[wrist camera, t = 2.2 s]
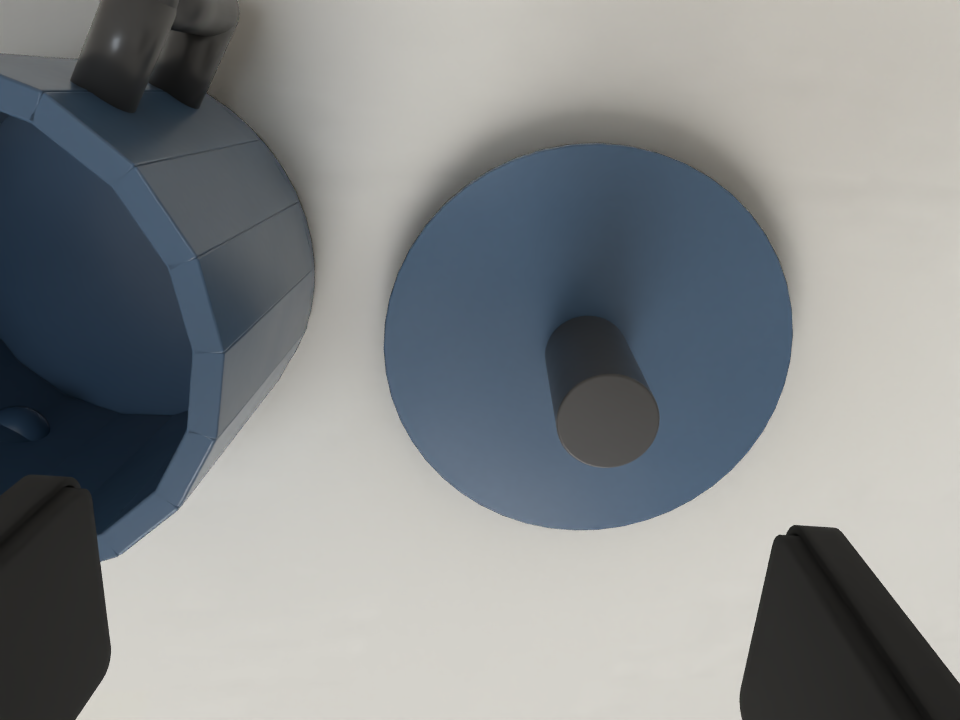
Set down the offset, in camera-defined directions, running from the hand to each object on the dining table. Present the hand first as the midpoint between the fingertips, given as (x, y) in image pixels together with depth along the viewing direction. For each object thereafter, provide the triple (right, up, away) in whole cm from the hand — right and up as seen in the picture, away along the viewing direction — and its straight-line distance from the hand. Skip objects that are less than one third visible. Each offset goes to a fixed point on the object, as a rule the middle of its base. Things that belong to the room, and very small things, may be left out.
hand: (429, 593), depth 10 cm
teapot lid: (+5, +4, +18) cm, 19 cm away
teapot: (-12, +7, +18) cm, 23 cm away
